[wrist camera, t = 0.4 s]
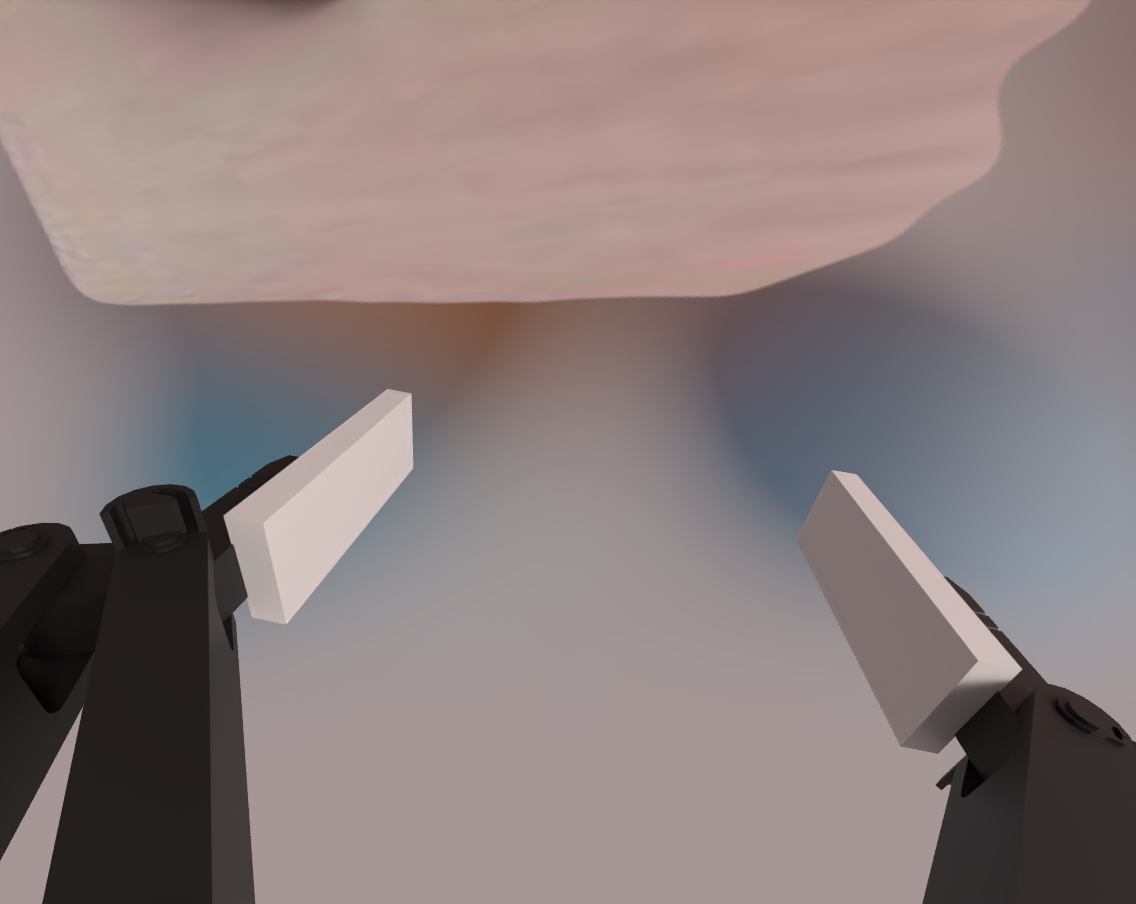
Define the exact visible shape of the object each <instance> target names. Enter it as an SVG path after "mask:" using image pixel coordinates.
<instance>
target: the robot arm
mask: <svg viewBox="0 0 1136 904" xmlns="http://www.w3.org/2000/svg"><path fill="white" fill-rule="evenodd" d="M412 469H413V445H412V404H411V393H405V392H400V391H394V390H389V389H387V390H386V391H385V392H383V393H382V394H381V395H379V396H378V397H377V398H375V399H374V400H373V401H372V402H370V403H369V404H368V405H366V406H365V407H364V408H363V409H361V410H360V411H359V412H357V413H356V414H355V415H353V416H352V417H351V418H350V419H348V420H347V421H346V422H344V423H343V424H342V425H341V426H339V427H338V428H337V429H335V430H334V431H333V432H331V433H330V434H329V435H327V436H326V437H325V438H324V439H322V440H321V441H320V442H318V443H317V444H316V445H315V446H313V447H312V448H311V449H309V450H308V451H307V452H305V453H304V454H303V455H302V456H300V457H296V456H291V455H289V456H286V457H284V458H281V459H279V460H276V461H274V462H271V463H269V464H267V465H266V466H264V467H263V468H262V469H260V470H259V471H257V472H256V473H255V474H253V475H252V478H248V479H246V480H245V481H244V482H242V483H241V484H239V487H238V488H237V487H235V488H234V489H232V490H231V491H230V492H228V493H227V494H225V495H224V496H223V497H221V498H220V499H218V500H217V501H216V502H214V503H213V504H212V505H210V506H209V507H207V508H206V509H205V510H203V511H202V512H201V509H200V505H199V502H198V499H197V496H196V494H195V492H194V491H193V490H192V489H190V488H188V487H186V486H180V485H172V484H168V485H155V486H149V487H146V488H141V489H137V490H133V491H131V492H129V493H126V494H124V495H121V496H119V497H117V498H116V499H114V500H113V501H111V502H110V503H108V504H107V505H106V506H105V507H104V508H103V510H102V511H101V513H100V516H101V519H102V521H103V523H104V525H105V527H106V530H107V532H108V534H109V536H110V539H111V541H112V543H99V544H79V543H78V541H77V539H76V537H75V535H74V533H73V531H72V530H71V528H70V527H69V526H66V525H62V524H59V523H38V524H32V525H25V526H20V527H16V528H14V529H9V530H6V531H3V532H0V860H1V858H2V856H3V854H4V853H5V851H6V849H7V847H8V845H9V843H10V841H11V840H12V838H13V836H14V834H15V832H16V830H17V828H18V827H19V825H20V823H21V821H22V819H23V817H24V815H25V813H26V811H27V810H28V808H29V806H30V804H31V802H32V800H33V799H34V797H35V795H36V793H37V791H38V789H39V787H40V785H41V783H42V782H43V780H44V778H45V776H46V774H47V772H48V770H49V768H50V767H51V765H52V763H53V761H54V759H55V757H56V756H57V754H58V752H59V750H60V748H61V746H62V744H63V742H64V741H65V739H66V737H67V735H68V733H69V731H70V729H71V727H72V726H73V724H74V722H75V720H76V718H77V716H78V714H79V713H80V711H81V709H82V707H83V710H82V715H81V720H80V725H79V730H78V735H77V740H76V744H75V749H74V754H73V759H72V763H71V768H70V773H69V778H68V783H67V787H66V792H65V797H64V802H63V807H62V812H61V816H60V821H59V826H58V831H57V836H56V841H55V845H54V850H53V855H52V859H51V864H50V869H49V874H48V879H47V883H46V888H45V894H44V898H43V903H42V904H255V895H254V881H253V866H252V852H251V836H250V822H249V808H248V792H247V778H246V764H245V748H244V735H243V719H242V704H241V690H240V675H239V660H238V646H237V632H236V621H235V618H234V615H233V612H234V611H235V610H236V609H237V608H238V607H239V605H241V603H243V602H244V601H245V599H246V598H247V601H248V605H249V608H250V612H251V615H252V618H257V619H262V620H267V621H273V622H277V623H282V624H287V623H288V622H289V621H290V619H291V618H292V617H293V616H294V614H295V613H296V612H297V611H298V609H299V608H300V607H301V606H302V604H303V603H304V602H305V601H306V599H307V598H308V597H309V596H310V595H311V593H312V592H313V591H314V590H315V588H316V587H317V586H318V585H319V584H320V582H321V581H322V580H323V579H324V577H325V576H326V575H327V574H328V572H329V571H330V570H331V569H332V568H333V566H334V565H335V564H336V563H337V561H338V560H339V559H340V558H341V556H342V555H343V554H344V553H345V552H346V550H347V549H348V547H350V545H351V544H352V543H353V542H354V540H355V539H356V538H357V537H358V536H359V534H360V533H361V532H362V531H363V529H364V528H365V527H366V526H367V524H368V523H369V522H370V521H371V519H372V518H373V517H374V516H375V515H376V513H377V512H378V511H379V510H380V508H381V507H382V506H383V505H384V503H385V502H386V501H387V500H388V499H389V497H390V496H391V495H392V493H393V492H394V491H395V490H396V488H397V487H398V486H399V485H400V484H401V482H402V481H403V480H404V479H405V478H406V476H407V475H408V474H409V472H410V471H411V470H412ZM796 540H797V542H798V544H799V546H800V548H801V550H802V552H803V554H804V556H805V558H806V560H807V562H808V564H809V566H810V568H811V570H812V572H813V574H814V576H815V578H816V580H817V582H818V584H819V586H820V588H821V590H822V592H823V594H824V596H825V598H826V600H827V602H828V604H829V606H830V608H831V609H832V612H833V613H834V615H835V617H836V619H837V621H838V623H839V625H840V627H841V629H842V631H843V633H844V635H845V637H846V639H847V641H848V643H849V645H850V647H851V649H852V651H853V653H854V655H855V657H856V659H857V661H858V663H859V665H860V667H861V669H862V671H863V673H864V674H865V677H866V679H867V681H868V683H869V685H870V687H871V688H872V691H873V693H874V695H875V696H876V698H877V700H878V702H879V704H880V706H881V708H882V710H883V712H884V714H885V716H886V718H887V720H888V722H889V724H890V726H891V728H892V730H893V732H894V734H895V736H896V738H897V740H898V742H899V744H900V746H903V747H907V748H912V749H917V750H922V751H927V752H932V753H939V752H940V751H941V750H942V749H943V748H944V747H945V746H946V745H947V744H948V743H949V742H950V741H951V740H952V739H953V738H954V737H955V736H956V738H957V740H958V741H959V743H960V745H961V746H962V748H963V749H964V751H965V753H966V756H964V757H963V758H962V759H961V760H960V761H959V762H958V763H957V764H956V765H955V766H954V767H953V768H952V769H951V770H950V771H949V772H947V773H946V774H945V775H944V776H943V777H942V778H941V779H940V780H939V782H938V783H937V784H936V786H937V787H938V788H940V789H941V790H942V789H944V788H945V787H946V786H947V785H951V789H950V793H949V797H948V801H947V806H946V810H945V814H944V818H943V822H942V826H941V830H940V834H939V839H938V842H937V847H936V850H935V855H934V859H933V863H932V867H931V871H930V875H929V879H928V883H927V887H926V891H925V896H924V899H923V904H1136V742H1134V741H1132V740H1131V738H1130V736H1129V735H1128V734H1127V733H1126V732H1125V731H1124V729H1123V728H1122V727H1121V726H1120V725H1119V724H1118V723H1117V722H1116V721H1115V720H1114V719H1113V718H1111V717H1110V716H1109V715H1108V714H1107V713H1106V712H1104V711H1103V710H1102V709H1101V708H1099V707H1098V706H1096V705H1095V704H1093V703H1091V702H1090V701H1089V700H1087V699H1085V698H1084V697H1082V696H1080V695H1078V694H1076V693H1074V692H1072V691H1070V690H1067V689H1066V688H1062V687H1058V686H1055V685H1051V684H1048V683H1047V682H1046V681H1045V680H1044V679H1043V678H1042V677H1041V676H1040V674H1039V673H1038V672H1037V671H1036V670H1035V669H1034V668H1033V667H1032V665H1031V664H1030V663H1029V662H1028V661H1027V660H1026V658H1025V657H1024V656H1023V655H1022V654H1021V653H1020V652H1019V650H1018V649H1017V648H1016V647H1015V646H1014V645H1013V644H1012V643H1011V641H1010V640H1009V639H1008V638H1007V637H1006V636H1005V635H1004V633H1003V632H1002V631H998V627H997V625H996V624H995V623H994V622H993V621H992V620H991V619H990V618H989V616H985V612H984V611H983V610H982V608H981V607H980V606H979V605H978V604H977V603H976V602H975V600H974V599H973V598H972V597H971V596H970V595H969V594H968V593H967V592H966V591H964V590H963V589H962V588H960V587H959V586H958V585H956V584H955V583H954V582H953V581H951V580H950V579H949V578H947V577H943V576H942V574H941V573H940V572H939V571H938V570H937V569H936V567H935V566H934V565H933V564H932V563H931V561H930V560H929V559H928V558H927V557H926V556H925V555H924V553H923V552H922V551H921V550H920V549H919V547H918V546H917V545H916V544H915V543H914V541H913V540H912V539H911V538H910V537H909V536H908V535H907V533H906V532H905V531H904V530H903V529H902V527H901V526H900V525H899V524H898V523H897V522H896V520H895V519H894V518H893V517H892V516H891V515H890V513H889V512H888V511H887V510H886V509H885V507H884V506H883V505H882V504H881V503H880V502H879V500H878V499H877V498H876V497H875V496H874V495H873V493H872V492H871V491H870V490H869V489H868V488H867V486H866V485H865V484H864V483H863V482H862V480H861V479H860V478H859V477H858V476H857V475H856V474H851V473H845V472H840V471H834V470H831V472H830V474H829V476H828V478H827V480H826V482H825V484H824V486H823V488H822V490H821V491H820V493H819V496H818V497H817V499H816V501H815V504H814V505H813V507H812V510H811V511H810V513H809V515H808V517H807V519H806V521H805V523H804V525H803V527H802V529H801V531H800V533H799V535H798V537H797V539H796ZM83 705H84V706H83Z"/></svg>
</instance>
